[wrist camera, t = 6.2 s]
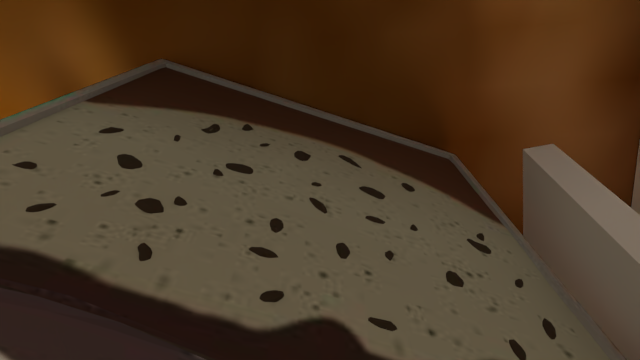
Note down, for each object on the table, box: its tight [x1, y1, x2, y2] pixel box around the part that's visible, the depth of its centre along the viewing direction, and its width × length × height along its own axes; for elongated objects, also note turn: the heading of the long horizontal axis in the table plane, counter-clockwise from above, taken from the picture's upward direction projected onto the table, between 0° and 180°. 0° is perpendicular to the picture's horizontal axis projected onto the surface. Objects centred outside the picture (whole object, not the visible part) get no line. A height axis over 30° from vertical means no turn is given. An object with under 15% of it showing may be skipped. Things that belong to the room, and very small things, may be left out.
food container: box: [0, 58, 627, 360], centre depth 10 cm, size 12×6×10 cm, turn 72°
